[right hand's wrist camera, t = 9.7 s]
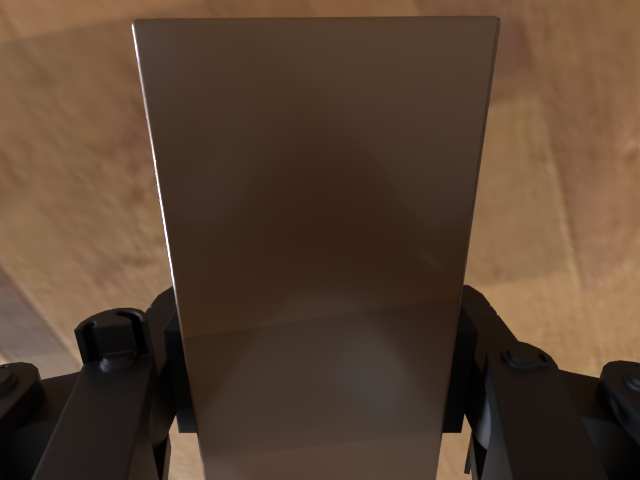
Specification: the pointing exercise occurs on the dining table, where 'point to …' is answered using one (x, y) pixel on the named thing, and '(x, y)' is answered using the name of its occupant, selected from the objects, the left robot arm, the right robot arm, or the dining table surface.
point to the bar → (317, 230)
